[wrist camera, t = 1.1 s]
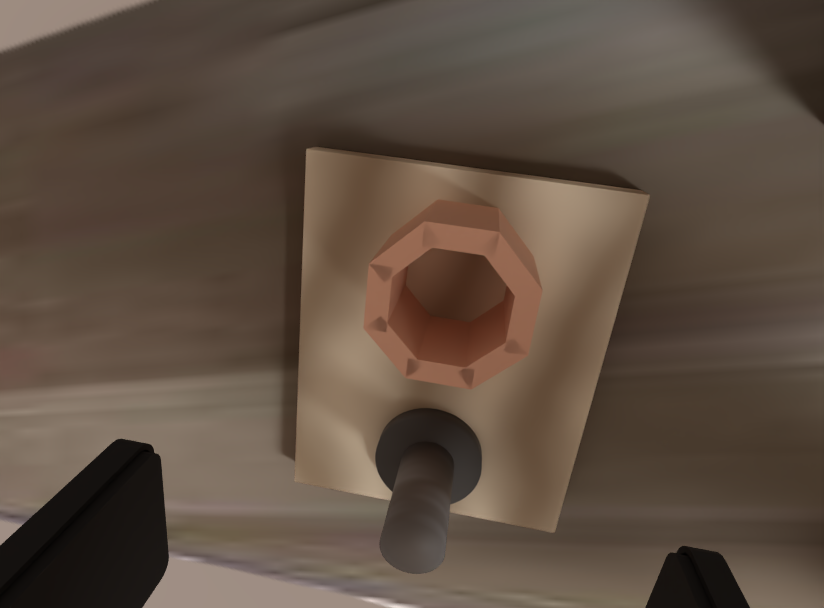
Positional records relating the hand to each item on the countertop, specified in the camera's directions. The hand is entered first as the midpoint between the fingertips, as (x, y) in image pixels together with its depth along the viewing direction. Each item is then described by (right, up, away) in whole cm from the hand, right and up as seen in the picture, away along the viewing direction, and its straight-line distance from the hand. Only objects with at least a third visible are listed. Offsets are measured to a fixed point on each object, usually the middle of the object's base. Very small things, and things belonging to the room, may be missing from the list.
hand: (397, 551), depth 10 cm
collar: (+2, +6, +16) cm, 18 cm away
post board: (+2, +2, +20) cm, 20 cm away
